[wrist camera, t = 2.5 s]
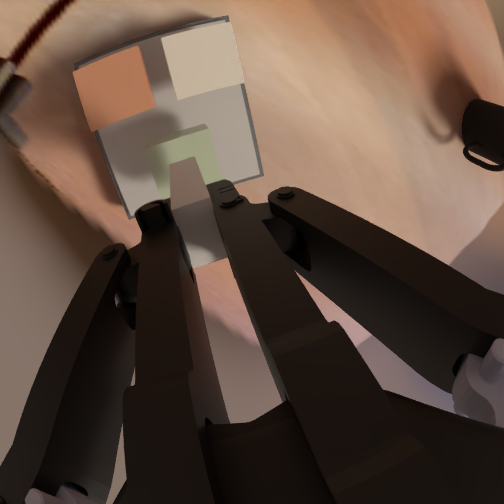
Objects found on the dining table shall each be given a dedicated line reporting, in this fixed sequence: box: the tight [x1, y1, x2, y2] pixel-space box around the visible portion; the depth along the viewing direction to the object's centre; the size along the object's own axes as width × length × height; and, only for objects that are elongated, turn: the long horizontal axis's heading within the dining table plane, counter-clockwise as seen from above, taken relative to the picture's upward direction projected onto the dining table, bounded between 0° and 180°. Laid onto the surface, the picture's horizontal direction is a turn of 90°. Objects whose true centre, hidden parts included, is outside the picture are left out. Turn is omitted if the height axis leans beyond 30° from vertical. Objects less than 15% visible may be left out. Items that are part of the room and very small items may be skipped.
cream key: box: [161, 22, 245, 100], centre depth 16 cm, size 4×4×2 cm
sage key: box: [144, 123, 223, 200], centre depth 19 cm, size 4×4×2 cm
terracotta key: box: [72, 45, 156, 132], centre depth 15 cm, size 4×4×2 cm
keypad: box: [74, 16, 264, 220], centre depth 21 cm, size 14×12×3 cm
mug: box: [462, 99, 504, 171], centre depth 27 cm, size 8×12×10 cm
